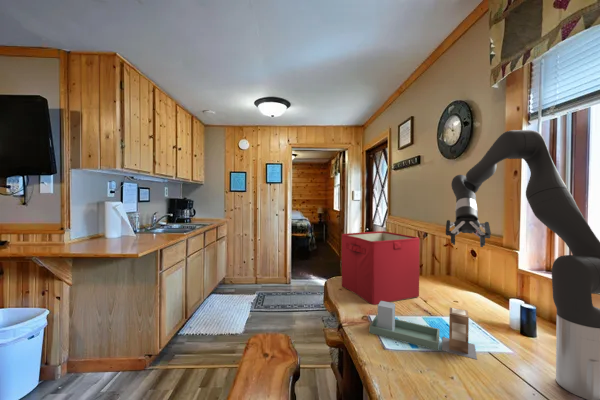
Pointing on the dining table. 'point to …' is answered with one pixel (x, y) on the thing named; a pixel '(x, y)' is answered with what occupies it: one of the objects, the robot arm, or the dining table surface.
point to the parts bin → (409, 333)
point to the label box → (458, 330)
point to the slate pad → (470, 351)
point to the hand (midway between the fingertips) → (467, 244)
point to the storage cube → (380, 266)
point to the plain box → (386, 315)
